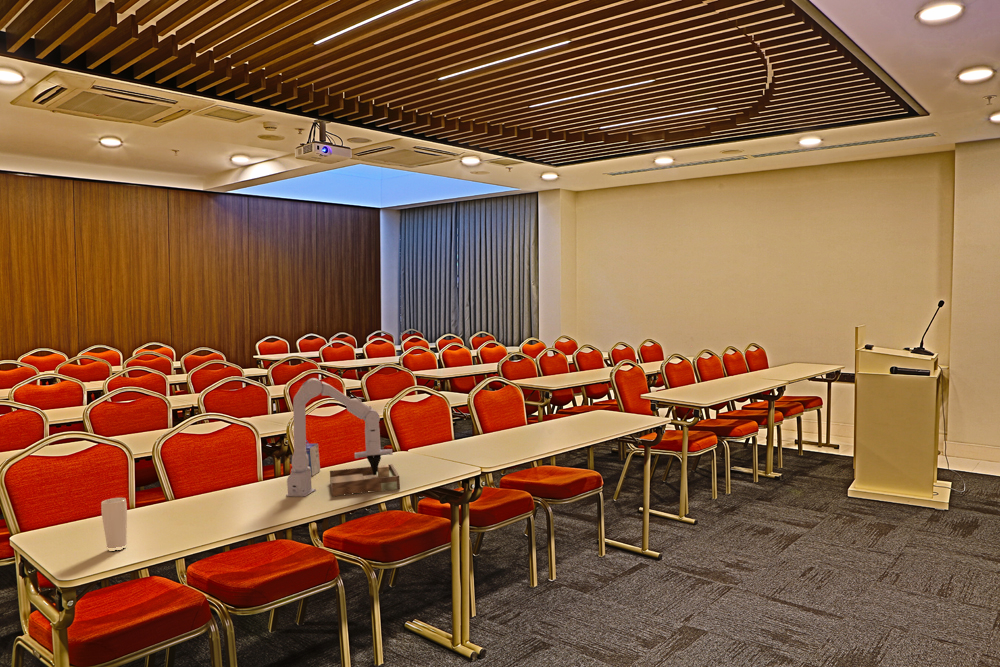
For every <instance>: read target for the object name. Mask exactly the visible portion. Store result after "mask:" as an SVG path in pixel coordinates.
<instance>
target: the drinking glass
mask: <svg viewBox="0 0 1000 667" xmlns="http://www.w3.org/2000/svg"><path fill="white" fill-rule="evenodd" d="M127 504H128V503H127V499H126V497H113V498H108V499H105V500H102V501H101V504H100V508H101V509H100V510H101V519H102V525H103V529H104V530H103V531H104V536H105V542H106V548H107V547H108V548H116V547H122V546H125V545H126V544H127V545H128V542H127V540H128V539H127V538H128V536H127V534H128V530H127V527H128V507H127V506H128V505H127Z"/></svg>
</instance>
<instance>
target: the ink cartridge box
mask: <svg viewBox="0 0 1000 667" xmlns="http://www.w3.org/2000/svg"><path fill="white" fill-rule="evenodd" d="M319 451H320V450H319V443H309V441H308V440H307V439H306V452H307V454H308V457H309V465H308V466H309V467H310V469H311V477H313V476H315V475H316V474H318V473H319V472H320V471H321V465H320V452H319Z"/></svg>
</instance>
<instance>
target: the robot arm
mask: <svg viewBox="0 0 1000 667" xmlns="http://www.w3.org/2000/svg"><path fill="white" fill-rule="evenodd" d="M320 395H321V396H324V397H326V396H329V397H331V398H333V399H334V400H336V401H337V402H339V403H341V404H343V405H344V406H346V411H347V412H349V413H351V414H352V415H353V416H355V417H357V418H358V419H360V420H363V421H364V422H365V423H364V425H365V426H364V438H365V441H364V442H365V451H358V452H354V459H359V458H361V459H362V458H366V459H367V461H368V463H369V465H370V467H371V468H372V471H373V475H377V468H378V466H379V464H380V462H381V459H382V456H389V455H390V456H393V448H391V449H390V448H387V449H386V448H385V449H382V448H381V447H382V446H381V434H380V433H381V432H380V431H381V428H380V423H379V422H380V420H381V417H380V414H379V413H378V411H377V410H375V409H374V408H372V406H371V405H369V406H368V404H366V403H364V402H362V399H360V398H355V397H354V398H350V397H349V396H347V395H345V394H344V393H343V392H341V391H340V390H338V389H337V388H335V387H334V386H332V385H331V384H329V383H327V382H325V381H322V380H320V379H318V378H317V377H311V378H308V379H307V380H306V381H305V382H303V383H302V385H301V386H300V387H299V389H298V391H297V392H296V393H295V395H294V396H293V402H292V403H293V406H292V407H293V454H292V456H291V467H292V468H291V469H290V474H289V475H288V477H287V479H286V483H287V484H286V486H287V494H285V496H286V497H306V496H309V495H310V494H312V493H314V492H316V490H317V489H316V488H312V476H311V469H310V467H309V466H308V465H309V457H308V454H307V452H306V444H307V442H306V440H307V432H306V431H307V430H306V429H307V428H306V427H307V426H306V425H307V424H306V423H307V422H306V405H307V403H308V402H309V401H311V399H313V398H315V397H318V396H320Z"/></svg>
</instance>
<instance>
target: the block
mask: <svg viewBox="0 0 1000 667" xmlns="http://www.w3.org/2000/svg"><path fill="white" fill-rule="evenodd" d="M388 465H389V464H380V465H378V477H379V478H381V477H389V466H388Z"/></svg>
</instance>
